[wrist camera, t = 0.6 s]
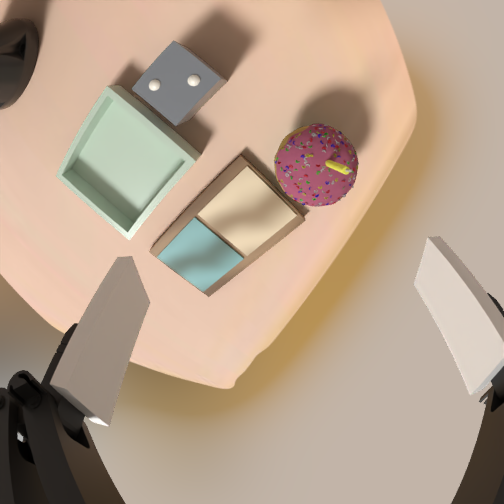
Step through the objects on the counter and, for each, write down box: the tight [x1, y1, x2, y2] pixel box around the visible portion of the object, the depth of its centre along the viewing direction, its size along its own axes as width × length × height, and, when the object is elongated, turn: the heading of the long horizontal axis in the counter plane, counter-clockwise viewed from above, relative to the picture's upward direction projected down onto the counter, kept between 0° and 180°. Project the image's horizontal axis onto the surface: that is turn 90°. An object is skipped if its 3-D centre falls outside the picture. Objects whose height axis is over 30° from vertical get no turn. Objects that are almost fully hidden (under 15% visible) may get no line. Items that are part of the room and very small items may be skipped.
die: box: [132, 41, 228, 126], centre depth 23 cm, size 6×6×6 cm
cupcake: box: [274, 124, 359, 206], centre depth 25 cm, size 9×8×12 cm
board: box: [149, 154, 305, 297], centre depth 35 cm, size 11×18×1 cm, turn 135°
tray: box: [56, 85, 201, 240], centre depth 28 cm, size 14×14×3 cm
